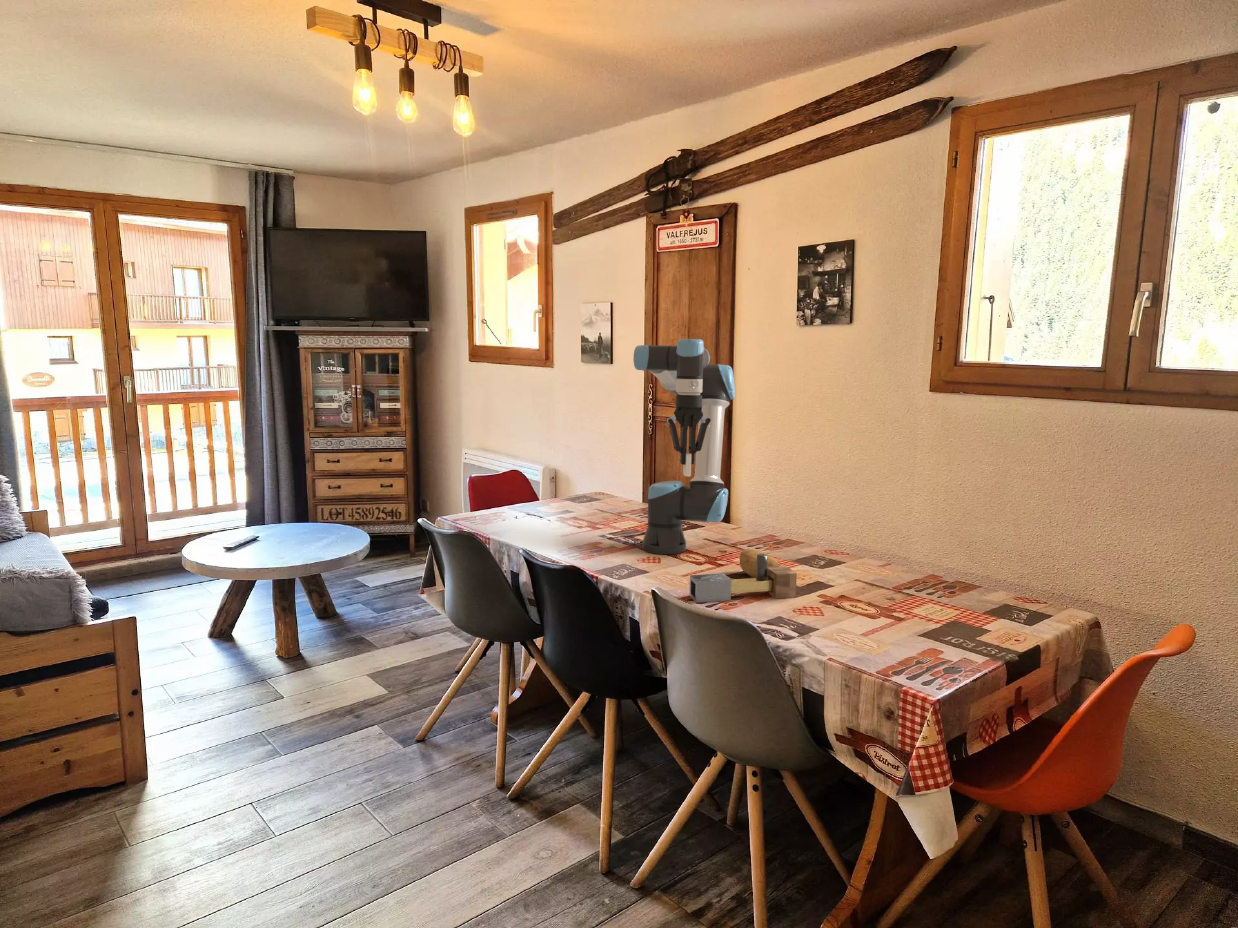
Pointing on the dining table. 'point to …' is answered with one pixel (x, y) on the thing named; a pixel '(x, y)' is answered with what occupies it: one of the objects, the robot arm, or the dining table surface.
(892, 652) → the dining table surface
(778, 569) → the socket
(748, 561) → the potato
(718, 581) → the sleeve
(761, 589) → the sliding bolt
